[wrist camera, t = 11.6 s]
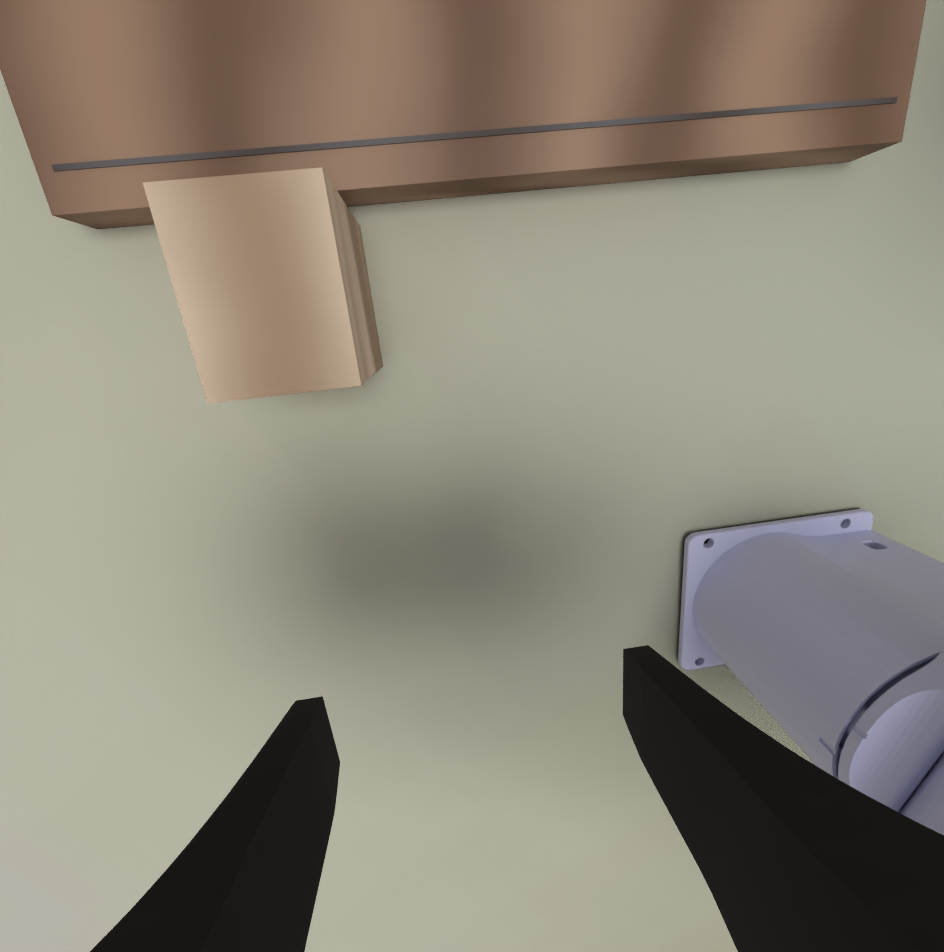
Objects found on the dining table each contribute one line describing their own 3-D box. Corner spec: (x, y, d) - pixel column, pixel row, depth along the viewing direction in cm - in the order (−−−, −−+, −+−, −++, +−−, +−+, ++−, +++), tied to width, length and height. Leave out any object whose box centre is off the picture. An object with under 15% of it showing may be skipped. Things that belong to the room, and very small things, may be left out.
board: (884, -80, 15) (952, -141, 13) (849, 161, 17) (903, 140, 15) (10, -34, 13) (-60, -95, 11) (97, 228, 16) (50, 214, 14)
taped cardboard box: (359, 219, 16) (319, 154, 10) (383, 366, 18) (361, 385, 12) (247, 229, 16) (138, 169, 10) (282, 377, 18) (206, 403, 12)
